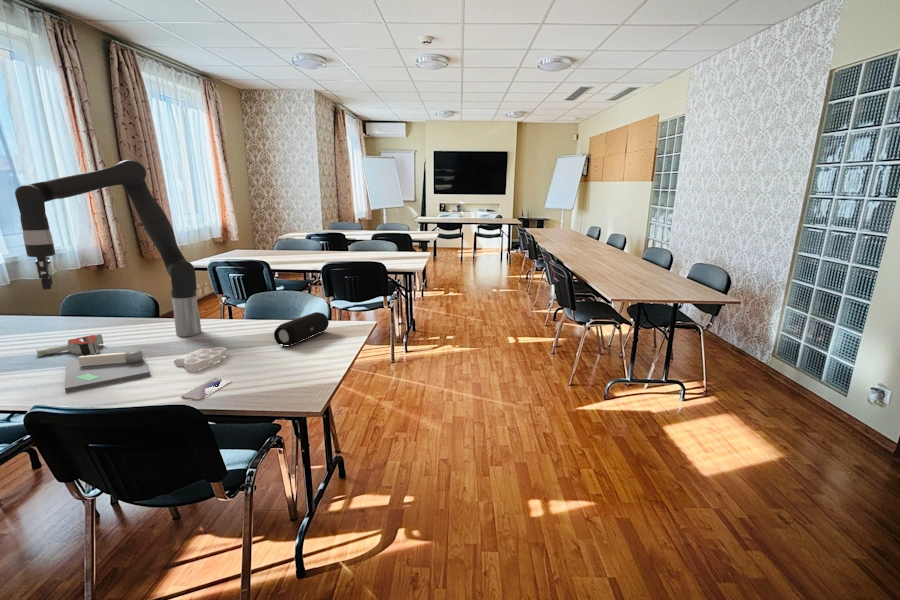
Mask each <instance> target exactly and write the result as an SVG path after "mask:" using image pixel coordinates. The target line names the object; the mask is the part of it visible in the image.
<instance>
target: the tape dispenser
mask: <svg viewBox="0 0 900 600" xmlns="http://www.w3.org/2000/svg"><path fill="white" fill-rule="evenodd" d="M81 339H82V340H81ZM99 345H104V338H103V336H102V333H99V334H91V335H86V336H82V337H81V336H80V337H76V338H72V339H71V338H70V339H68V340H67V343H66V344H64V345H57V346H49V347H45V348H37V349H36V350H35V351H36V354H37V357H39V358H40V357H43V356H48V355H52V354H58V353H61V352H67V351H68V352H71V353H70V354H74V353H76V354H75V355H80V353H81V356H85V355H86V356H87V355H91V354H94V355H98V354H99V353H98V352H100V349H99ZM97 353H98V354H97Z"/></svg>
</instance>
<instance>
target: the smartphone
mask: <svg viewBox="0 0 900 600" xmlns="http://www.w3.org/2000/svg"><path fill="white" fill-rule="evenodd" d="M222 379H223V378H212V379H210V380H208V381H206V382H205V383H203V384H200V386H197V387H195V388H194V389H192V390H190V391H188V392H186V393H185V394H182V396H180V399H181V398H182V400H187V399H192V400H191V401H194V400H201V399H203V398H204V397H205V396H206V395H208V394H206V393H205V389H206V388H209V387H212V386H213V387H214V386H215V387H218V386H219V384H220V382H221V381H222ZM216 385H217V386H216ZM204 399H205V398H204ZM204 399H203V400H204ZM201 401H202V400H201Z"/></svg>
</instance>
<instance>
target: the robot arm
mask: <svg viewBox="0 0 900 600" xmlns="http://www.w3.org/2000/svg"><path fill="white" fill-rule="evenodd" d="M146 177H147V170H146V168H145V166H144V165H143V164H142V163H140V162H138V161H137V160H134V159H125V160H121V161H119V162H118V163H117V164H115V165H113V166H109V167H105V168H103V169H98V170H94V171H87V172H81V173H75V174H70V175H64V176H60V177H56V178H52V179H48V180H46V181H39V182H34V183H28V184H23V185H20V186H18V187H17V188H16V189H15V191H14V196H15V199H16V203H17V206H18V210H19V214H20V216H19V217H20V223H21V224H20V225H21V228H22V238H23V243H24V247H25V252H26V256H27V257H30V258H36V261H35V262H34V263H35V264H34V265H35V267H36V271H37V274H38V278H39V280H40V281H41V286H42V289H43V290H51V289H52V285H53V279H52V273H53V272H52V271H53V269H52V261H51V260H50V257H53V256H55V255H56V249H55V245H54V240H53V235H52V233H51V229H50V223H49V220H48V219H49V218H48V216H47V214H46V206H45V205H46V204H45V203H47V202H49V201H53V200H58V199H59V200H60V199H67V198H71V197H75V196H79V195H82V194H83V195H84V194H86V193H89V192H93V191H97V190H101V189H104V188H110V187H114V186H121V185H122V187H123V188H124V190H125V192H126V193H127V195H128V196H129V198H130V200H131V202H132V204H133V206H134V209H135V212H136V214H137V216H138V218H139V220H140V222H141V224H142V226H143V228H144V230H145V232H146V234H147V236H148V237H149V238H150V240H151V242H152V243H153V245H154V246H155V248H156V249H157V250H158V252H159V255H160V256H161V260H162V262H163V265H164V267H165V269H166V273H167V274H168V275H169V276H170V279H171V280H170V281H171V291H170V292H171V293H170V295H171V302H172V309H173V319H174V324H175V325H174V326H175V333H176V334H175V335H176V336H177V337H179V338H180V337H182V338H184V337H193V336H197V335H199V334H202V325H201V318H200V317H201V315H200V312H199V308H198V300H197V290H198V289H197V287H198V286H197V275H196V269H195V267H194V265H193V264H192V263H191V262H189V261H188V260H186V258H185V256H184V255H183V254H182V252H181V250H180V248H179V246H178V242H177V240H176V236H175V232H174V229H173V227H172V224H171V222H170V220H169V217H168V216H167V214H166V213H165V211H164V209H163V208H162V207H161V206H160V204H159V203H158V201H157V200H156V199H155V198H154V196H153V195H152V193H151V191H150V188H149V187H148V185H147V184H148V183H147V182H146V180H145V179H146Z"/></svg>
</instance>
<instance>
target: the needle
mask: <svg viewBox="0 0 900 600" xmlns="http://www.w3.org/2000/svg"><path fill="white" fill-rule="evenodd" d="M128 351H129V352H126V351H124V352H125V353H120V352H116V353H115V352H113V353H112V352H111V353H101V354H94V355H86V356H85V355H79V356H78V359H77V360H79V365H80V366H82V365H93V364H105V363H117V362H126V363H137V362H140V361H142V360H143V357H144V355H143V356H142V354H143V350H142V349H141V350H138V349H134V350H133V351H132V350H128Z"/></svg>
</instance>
